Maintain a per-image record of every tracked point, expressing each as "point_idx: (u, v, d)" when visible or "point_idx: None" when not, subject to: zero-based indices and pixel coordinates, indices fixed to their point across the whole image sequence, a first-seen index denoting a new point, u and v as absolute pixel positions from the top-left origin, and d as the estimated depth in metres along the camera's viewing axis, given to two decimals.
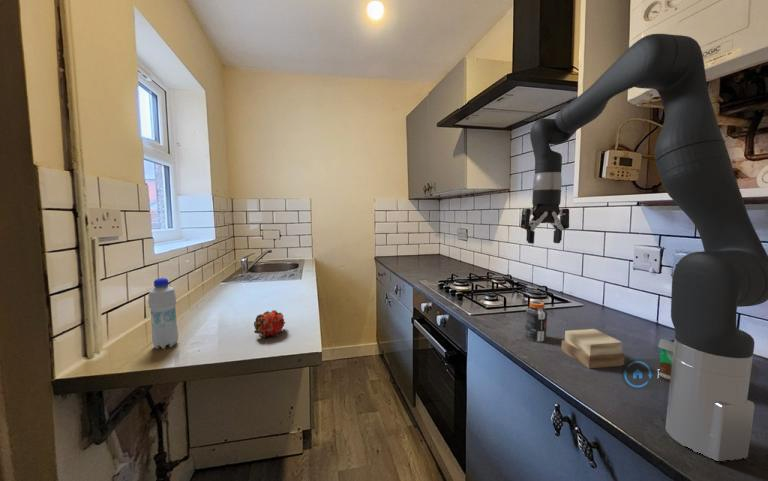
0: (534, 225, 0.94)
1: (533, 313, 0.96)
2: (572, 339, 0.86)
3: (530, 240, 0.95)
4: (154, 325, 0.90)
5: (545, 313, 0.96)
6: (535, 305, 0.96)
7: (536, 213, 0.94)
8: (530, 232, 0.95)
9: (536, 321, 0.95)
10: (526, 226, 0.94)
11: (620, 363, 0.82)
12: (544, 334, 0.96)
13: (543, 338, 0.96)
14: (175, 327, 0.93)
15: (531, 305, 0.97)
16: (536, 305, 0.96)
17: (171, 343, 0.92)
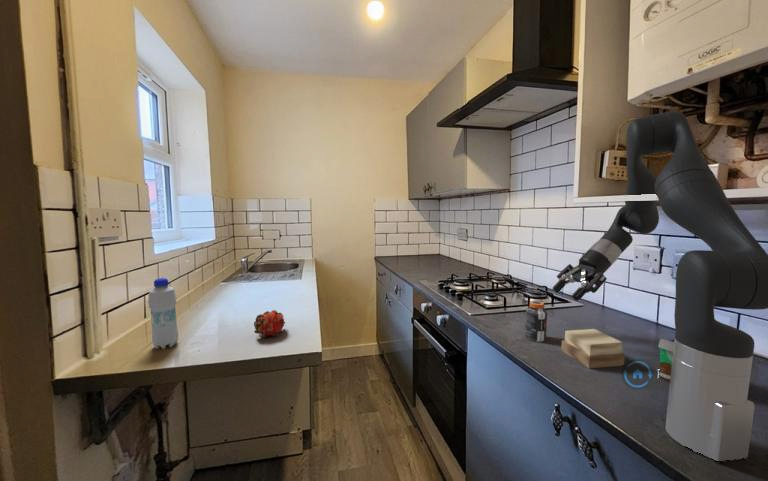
0: (564, 276, 1.03)
1: (533, 313, 0.96)
2: (572, 339, 0.86)
3: (554, 287, 1.03)
4: (154, 325, 0.90)
5: (545, 313, 0.96)
6: (535, 305, 0.96)
7: (573, 269, 1.02)
8: (558, 281, 1.03)
9: (536, 321, 0.95)
10: (558, 275, 1.05)
11: (620, 363, 0.82)
12: (544, 334, 0.96)
13: (543, 338, 0.96)
14: (175, 327, 0.93)
15: (531, 305, 0.97)
16: (536, 305, 0.96)
17: (171, 343, 0.92)
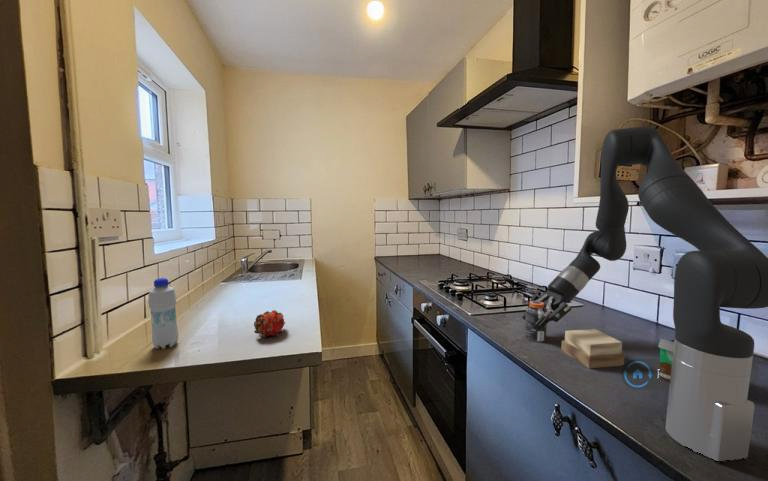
0: None
1: (533, 313, 0.96)
2: (572, 339, 0.86)
3: (523, 315, 1.02)
4: (154, 325, 0.90)
5: None
6: (535, 305, 0.96)
7: (542, 295, 1.01)
8: None
9: (536, 320, 0.95)
10: (528, 303, 1.04)
11: (620, 363, 0.82)
12: (544, 334, 0.96)
13: (543, 338, 0.96)
14: (175, 327, 0.93)
15: (531, 305, 0.97)
16: (536, 305, 0.96)
17: (171, 343, 0.92)
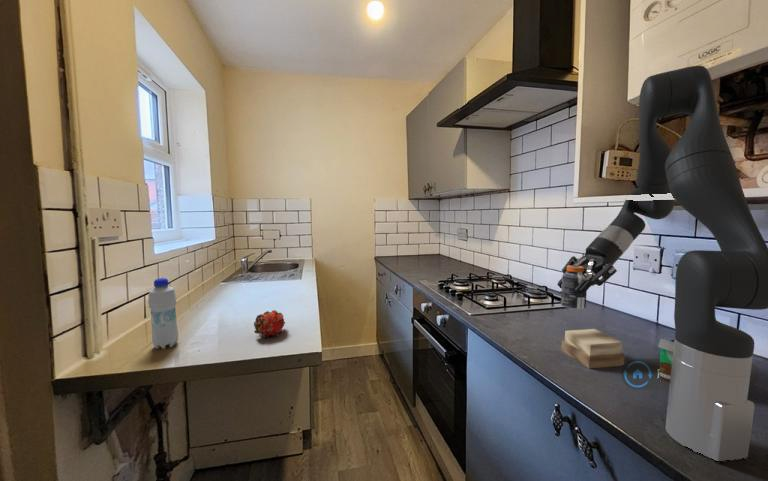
0: None
1: (572, 277, 0.85)
2: (572, 339, 0.86)
3: (559, 282, 0.91)
4: (154, 325, 0.90)
5: None
6: (574, 268, 0.86)
7: (579, 260, 0.91)
8: None
9: (576, 285, 0.85)
10: (563, 269, 0.93)
11: (620, 363, 0.82)
12: (584, 301, 0.86)
13: (583, 305, 0.86)
14: (175, 327, 0.93)
15: (569, 269, 0.87)
16: (575, 268, 0.86)
17: (171, 343, 0.92)
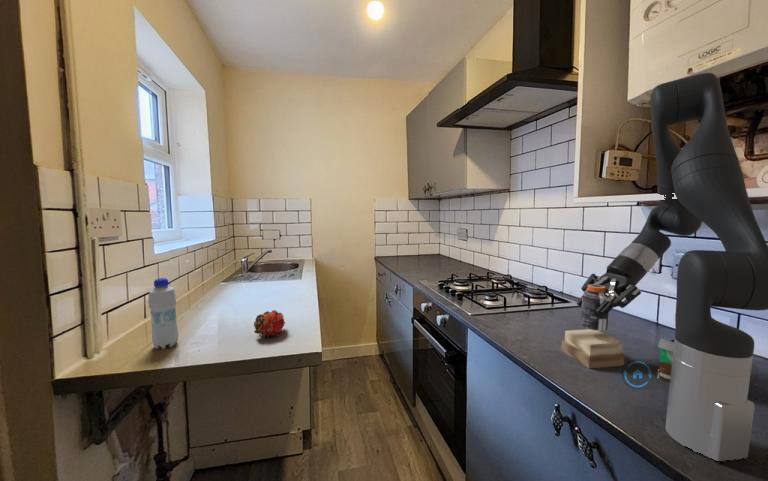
0: None
1: (594, 297, 0.82)
2: (572, 339, 0.86)
3: (578, 301, 0.88)
4: (154, 325, 0.90)
5: None
6: (595, 289, 0.82)
7: (600, 278, 0.88)
8: None
9: (598, 307, 0.82)
10: (582, 287, 0.90)
11: (620, 363, 0.82)
12: (606, 322, 0.82)
13: (605, 327, 0.82)
14: (175, 327, 0.93)
15: (590, 289, 0.84)
16: (597, 289, 0.82)
17: (171, 343, 0.92)
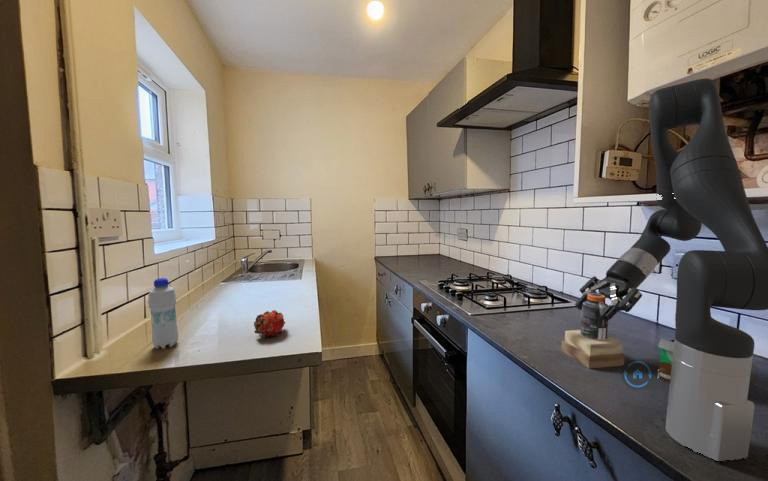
0: (589, 290, 0.88)
1: (593, 307, 0.82)
2: (572, 339, 0.86)
3: (576, 302, 0.89)
4: (154, 325, 0.90)
5: None
6: (595, 298, 0.83)
7: (599, 282, 0.88)
8: None
9: (597, 316, 0.82)
10: (581, 289, 0.91)
11: (620, 363, 0.82)
12: (606, 331, 0.83)
13: (605, 336, 0.83)
14: (175, 327, 0.93)
15: (590, 298, 0.84)
16: (597, 298, 0.83)
17: (171, 343, 0.92)
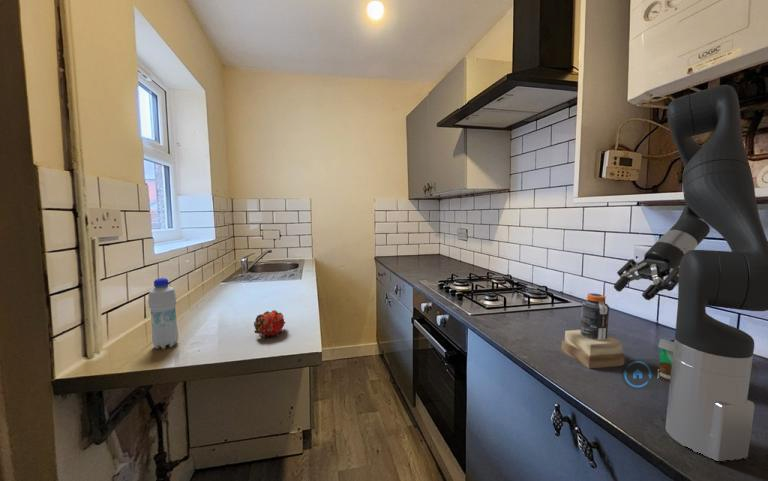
0: (627, 272, 0.90)
1: (593, 307, 0.82)
2: (572, 339, 0.86)
3: (615, 284, 0.91)
4: (154, 325, 0.90)
5: (607, 307, 0.82)
6: (595, 298, 0.83)
7: (638, 264, 0.90)
8: (620, 278, 0.91)
9: (597, 316, 0.82)
10: (618, 271, 0.93)
11: (620, 363, 0.82)
12: (606, 331, 0.83)
13: (605, 336, 0.83)
14: (175, 327, 0.93)
15: (590, 298, 0.84)
16: (597, 298, 0.83)
17: (171, 343, 0.92)
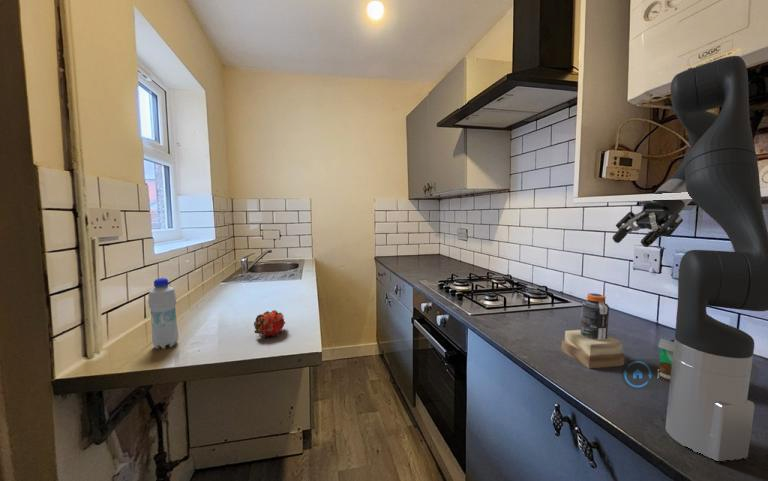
0: (626, 224, 0.90)
1: (593, 307, 0.82)
2: (572, 339, 0.86)
3: None
4: (154, 325, 0.90)
5: (607, 307, 0.82)
6: (595, 298, 0.83)
7: (636, 215, 0.90)
8: (619, 230, 0.91)
9: (597, 316, 0.82)
10: (617, 224, 0.93)
11: (620, 363, 0.82)
12: (606, 331, 0.83)
13: (605, 336, 0.83)
14: (175, 327, 0.93)
15: (590, 298, 0.84)
16: (597, 298, 0.83)
17: (171, 343, 0.92)
